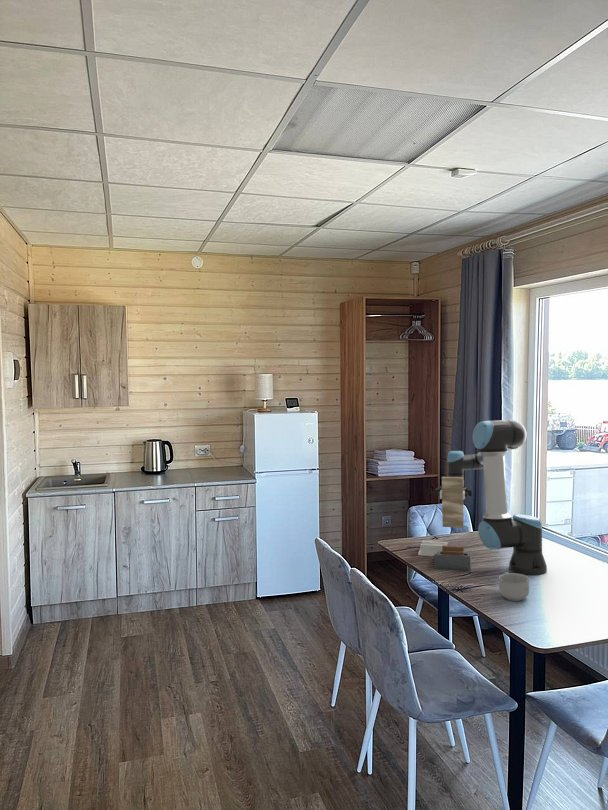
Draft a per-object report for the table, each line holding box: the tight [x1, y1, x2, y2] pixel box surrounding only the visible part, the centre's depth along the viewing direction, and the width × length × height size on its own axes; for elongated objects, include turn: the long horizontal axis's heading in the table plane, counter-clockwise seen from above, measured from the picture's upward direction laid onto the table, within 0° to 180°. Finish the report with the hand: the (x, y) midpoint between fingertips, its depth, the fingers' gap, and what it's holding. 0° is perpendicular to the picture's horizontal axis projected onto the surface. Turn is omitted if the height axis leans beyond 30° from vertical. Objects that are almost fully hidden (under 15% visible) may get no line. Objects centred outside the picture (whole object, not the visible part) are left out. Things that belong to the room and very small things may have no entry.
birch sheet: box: [441, 476, 465, 529], centre depth 267 cm, size 2×9×22 cm, turn 73°
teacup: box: [498, 571, 530, 602], centre depth 229 cm, size 14×11×8 cm
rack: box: [433, 551, 472, 572], centre depth 265 cm, size 15×15×8 cm
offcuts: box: [442, 545, 465, 555], centre depth 262 cm, size 6×9×8 cm
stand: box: [417, 540, 449, 557], centre depth 283 cm, size 10×14×6 cm
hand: (452, 496), depth 263 cm, fingers closed on birch sheet, 9 cm apart
